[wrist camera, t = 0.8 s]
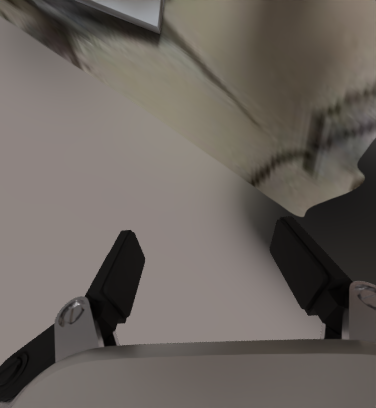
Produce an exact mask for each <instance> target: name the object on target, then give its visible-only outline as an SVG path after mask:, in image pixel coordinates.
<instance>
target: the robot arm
mask: <svg viewBox="0 0 376 408" xmlns="http://www.w3.org/2000/svg"><path fill="white" fill-rule="evenodd" d="M270 253H271V255H272V256H273V258H274V260H275V262H276V264H277V266H278V267H279V269H280V271H281V273H282V275H283V276H284V278H285V280H286V282H287V283H288V286H289V287H290V289H291V291H292V292H293V295H294V296H295V298H296V300H297V302H298V304H299V305H300V307H301V308H302V309H305V311H306V313H307V315H308V316H311V315H318V316H319V318H320V319H321V321H322V329H321V337H320V339H298V340H260V341H226V342H194V343H167V344H139V345H122V346H120V345H119V342H118V338H117V335H116V333H115V329H116V326H117V324H118V323H125V322H126V318H127V317H129V315H130V313H131V310H132V306H133V302H134V299H135V295H136V292H137V288H138V285H139V281H140V278H141V274H142V270H143V267H144V263H145V257H144V254H143V252H142V250H141V247H140V245H139V242H138V240H137V238H136V235H135V233H134V232H132V231H131V230H125V231H121V232H120V234H119V236H118V238H117V240H116V241H115V243H114V245H113V247H112V249H111V250H110V252H109V254H108V255H107V257H106V258H105V260H104V262H103V264H102V266H101V268H100V269H99V271H98V273H97V275H96V277H95V279H94V280H93V282H92V284H91V286H90V288H89V290H88V292H87V293H86V295H85V297H77V298H74V299H73V300H71V301H70V302H68V303H67V304H66V305H65V306H64V307H63V308H62V309H61V310H60V312H59V313H58V315H57V317H56V319H55V323H54V324H53V325H52V326H50V327H49V328H48V329H46V330H45V331H44V332H42V333H41V334H40V335H38V336H37V337H36V338H34V339H33V340H32V341H30V342H29V343H28V344H26V345H25V346H24V347H22V348H21V349H20V350H18V351H17V352H16V353H14V354H13V355H12V356H10V357H9V358H8V359H7V360H6V361H5V362H4V363H3V364H2V365H1V366H0V408H376V286H375V285H373V284H370V283H367V282H362V281H356V282H352V281H351V280H350V278H349V277H348V276H347V275H346V274H345V273H344V272H343V271H342V270H341V269H340V268H339V266H338V265H337V264H336V263H335V262H334V261H333V260H332V259H331V258H330V257H329V256H328V255H327V254H326V252H325V251H324V250H323V249H322V248H321V247H320V246H319V245H318V244H317V243H316V242H315V241H314V240H313V239H312V237H311V236H310V235H309V234H308V233H307V232H306V231H305V230H304V229H303V228H302V227H301V226H300V224H299V223H298V222H297V221H296V220H295V219H294V218H293V217H291V216H288V217H281V218H280V219H279V220H277V223H276V226H275V231H274V235H273V238H272V242H271V246H270Z"/></svg>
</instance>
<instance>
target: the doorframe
mask: <svg viewBox="0 0 376 408" xmlns="http://www.w3.org/2000/svg"><path fill="white" fill-rule="evenodd" d="M75 1H77V2H80V3H82V4H85V5H87V6H90V7H92V8H95V9H97V10H100V11H102V12H105V13H108V14H110V15H113V16H115V17H118V18H120V19H123V20H125V21H128V22H130V23H133V24H135V25H138V26H140V27H143V28H145V29H148V30H151V31H153V32H156V33H158V34H160V32H161V24H162V16H163V8H164V0H75Z"/></svg>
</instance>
